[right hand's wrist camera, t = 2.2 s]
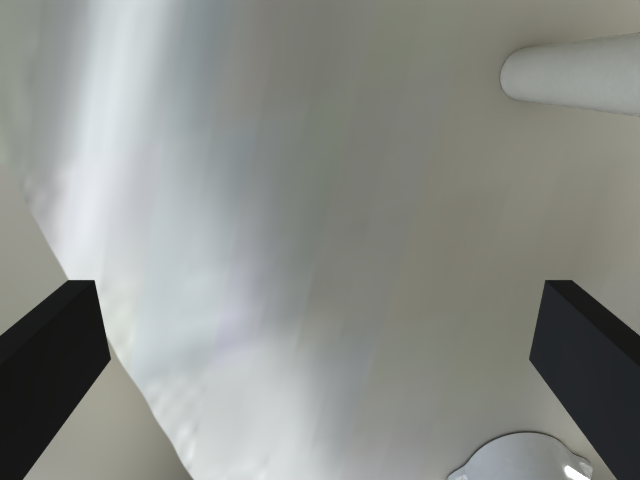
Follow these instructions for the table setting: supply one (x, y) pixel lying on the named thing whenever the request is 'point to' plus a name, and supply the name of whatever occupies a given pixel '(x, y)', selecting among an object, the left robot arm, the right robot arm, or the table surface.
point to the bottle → (578, 74)
